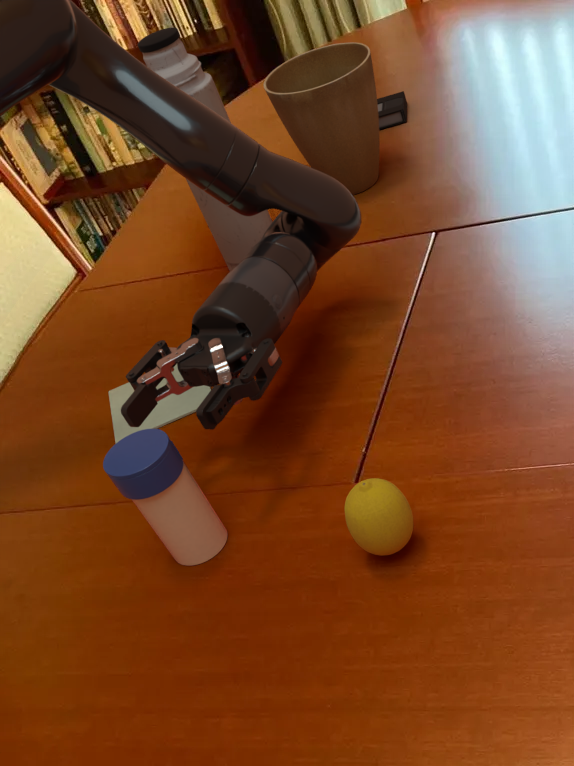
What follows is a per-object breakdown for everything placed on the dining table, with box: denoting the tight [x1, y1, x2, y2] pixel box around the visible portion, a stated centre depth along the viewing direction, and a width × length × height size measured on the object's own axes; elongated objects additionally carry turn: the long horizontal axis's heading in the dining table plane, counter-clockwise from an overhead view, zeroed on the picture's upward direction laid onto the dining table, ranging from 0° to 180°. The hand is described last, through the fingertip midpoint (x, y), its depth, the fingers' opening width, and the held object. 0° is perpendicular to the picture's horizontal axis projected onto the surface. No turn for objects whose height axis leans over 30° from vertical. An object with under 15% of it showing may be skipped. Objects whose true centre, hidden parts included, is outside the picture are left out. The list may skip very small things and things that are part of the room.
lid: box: [102, 428, 184, 500], centre depth 76 cm, size 6×6×3 cm
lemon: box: [343, 477, 414, 556], centre depth 74 cm, size 6×6×8 cm
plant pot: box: [262, 41, 380, 196], centre depth 122 cm, size 15×15×16 cm
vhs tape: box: [377, 91, 408, 131], centre depth 141 cm, size 8×14×2 cm, turn 91°
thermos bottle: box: [137, 26, 273, 272], centre depth 110 cm, size 8×8×28 cm
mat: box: [108, 364, 212, 444], centre depth 103 cm, size 12×12×1 cm
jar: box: [131, 460, 228, 567], centre depth 80 cm, size 6×6×12 cm
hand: (164, 421), depth 79 cm, fingers open, 8 cm apart
